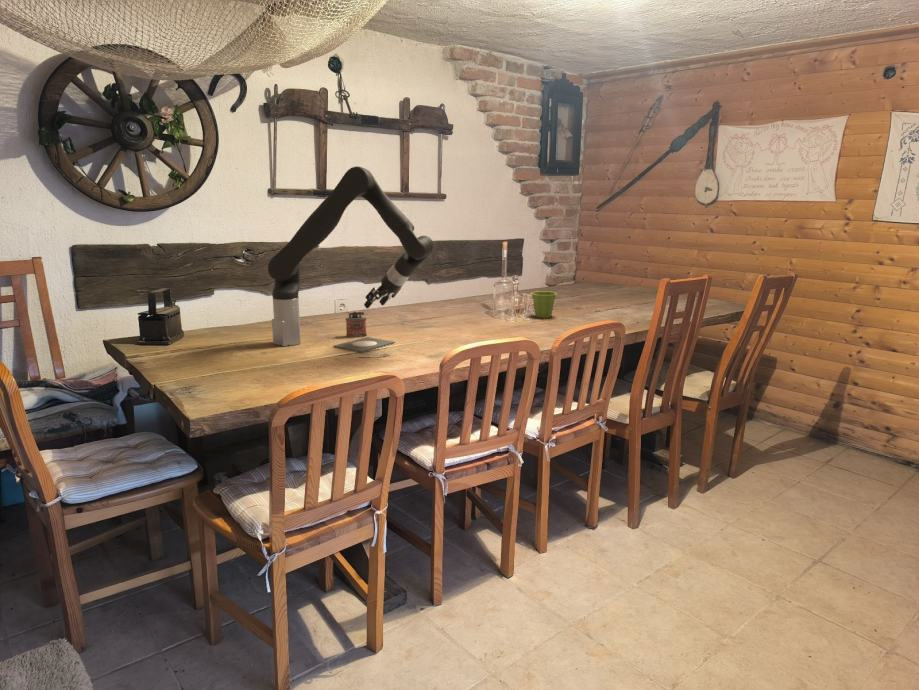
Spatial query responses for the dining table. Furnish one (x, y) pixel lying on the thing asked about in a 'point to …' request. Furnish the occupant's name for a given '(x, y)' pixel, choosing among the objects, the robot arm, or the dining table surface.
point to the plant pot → (543, 303)
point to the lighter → (356, 325)
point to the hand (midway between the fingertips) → (373, 305)
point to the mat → (363, 344)
